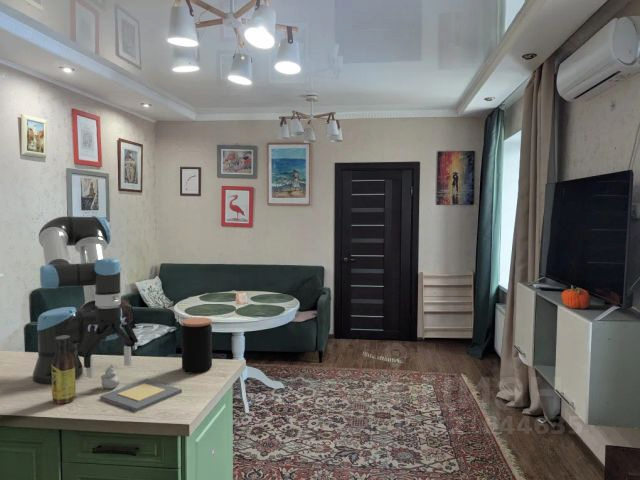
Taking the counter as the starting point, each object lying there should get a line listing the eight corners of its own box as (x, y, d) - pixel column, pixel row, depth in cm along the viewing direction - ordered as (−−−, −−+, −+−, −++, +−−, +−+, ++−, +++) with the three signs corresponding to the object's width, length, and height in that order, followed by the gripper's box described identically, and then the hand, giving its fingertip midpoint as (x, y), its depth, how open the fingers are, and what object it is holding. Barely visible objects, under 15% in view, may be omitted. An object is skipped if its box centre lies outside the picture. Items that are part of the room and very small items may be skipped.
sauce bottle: (53, 398, 143) (52, 334, 141) (76, 395, 145) (75, 332, 144) (51, 406, 137) (49, 340, 135) (75, 403, 139) (73, 338, 138)
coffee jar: (192, 363, 177) (191, 316, 176) (217, 365, 174) (217, 318, 173) (176, 372, 167) (175, 322, 166) (202, 375, 164) (202, 325, 163)
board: (100, 399, 142) (100, 395, 142) (146, 381, 157) (146, 378, 157) (136, 411, 134) (136, 407, 134) (181, 392, 148) (181, 388, 148)
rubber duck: (110, 392, 148) (110, 367, 148) (95, 388, 151) (94, 364, 150) (123, 386, 153) (123, 362, 153) (108, 383, 156) (108, 359, 155)
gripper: (78, 314, 138) (80, 384, 139) (148, 301, 159) (149, 362, 160) (63, 311, 141) (65, 380, 142) (133, 299, 163) (134, 359, 164)
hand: (109, 371), depth 151 cm, fingers open, 13 cm apart
